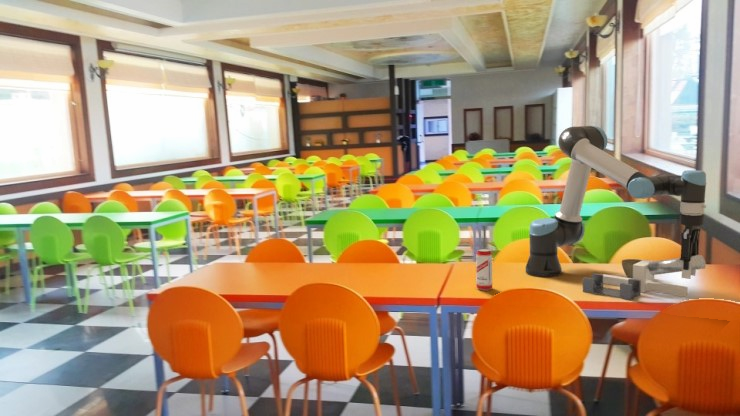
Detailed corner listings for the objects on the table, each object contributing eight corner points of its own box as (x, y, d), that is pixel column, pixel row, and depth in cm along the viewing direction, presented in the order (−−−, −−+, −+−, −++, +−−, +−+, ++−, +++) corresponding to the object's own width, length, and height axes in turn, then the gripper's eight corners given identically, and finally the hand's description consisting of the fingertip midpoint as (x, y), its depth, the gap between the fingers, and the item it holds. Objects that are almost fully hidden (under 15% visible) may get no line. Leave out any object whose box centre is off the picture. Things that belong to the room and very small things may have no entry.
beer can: (481, 285, 229) (480, 247, 227) (495, 288, 225) (494, 249, 223) (473, 289, 225) (473, 250, 223) (487, 291, 221) (487, 252, 219)
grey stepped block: (596, 285, 224) (596, 260, 223) (607, 279, 232) (608, 255, 230) (681, 299, 202) (682, 271, 201) (690, 292, 210) (691, 265, 208)
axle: (650, 276, 212) (647, 263, 212) (655, 273, 215) (651, 260, 216) (702, 269, 199) (698, 256, 199) (706, 266, 202) (702, 253, 203)
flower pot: (651, 281, 226) (651, 264, 225) (624, 281, 228) (624, 264, 227) (644, 275, 236) (644, 258, 235) (618, 275, 238) (619, 258, 237)
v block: (582, 291, 216) (582, 277, 215) (593, 286, 222) (593, 273, 221) (630, 300, 203) (631, 285, 202) (640, 294, 209) (640, 280, 209)
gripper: (695, 218, 192) (692, 283, 196) (711, 211, 205) (707, 273, 208) (672, 216, 198) (669, 279, 201) (688, 209, 210) (685, 270, 214)
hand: (688, 276), depth 205 cm, fingers closed on axle, 5 cm apart
